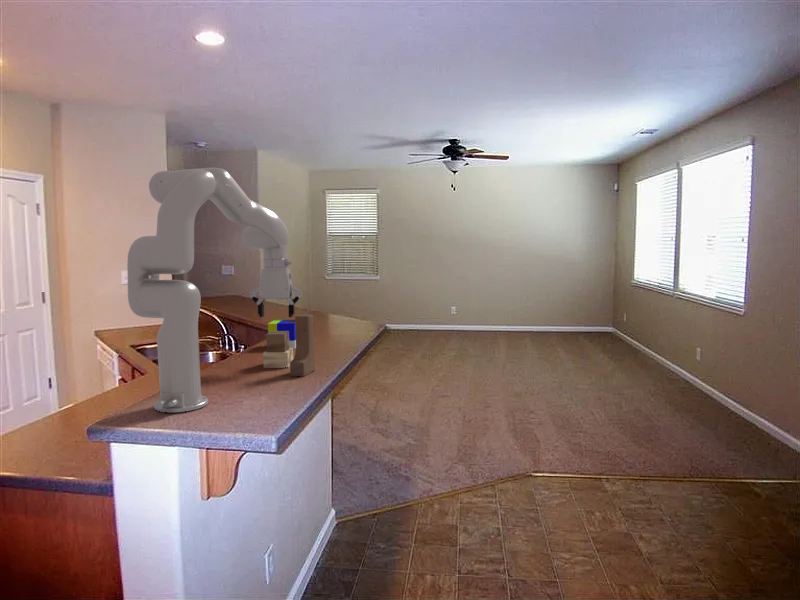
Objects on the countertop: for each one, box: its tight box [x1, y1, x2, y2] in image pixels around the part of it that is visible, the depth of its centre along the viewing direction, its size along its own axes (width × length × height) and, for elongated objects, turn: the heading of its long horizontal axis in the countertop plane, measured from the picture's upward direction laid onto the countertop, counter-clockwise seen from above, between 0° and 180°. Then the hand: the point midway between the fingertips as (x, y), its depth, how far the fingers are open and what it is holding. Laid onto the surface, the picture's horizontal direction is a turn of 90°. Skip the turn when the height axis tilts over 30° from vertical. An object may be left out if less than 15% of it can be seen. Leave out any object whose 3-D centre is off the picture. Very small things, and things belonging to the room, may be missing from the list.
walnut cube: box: [265, 331, 289, 352], centre depth 183 cm, size 6×6×6 cm
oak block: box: [262, 348, 294, 369], centre depth 184 cm, size 8×8×5 cm
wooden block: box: [289, 313, 316, 378], centre depth 171 cm, size 9×4×18 cm, turn 166°
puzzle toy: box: [267, 319, 296, 350], centre depth 216 cm, size 10×10×10 cm
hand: (276, 316), depth 182 cm, fingers open, 9 cm apart
